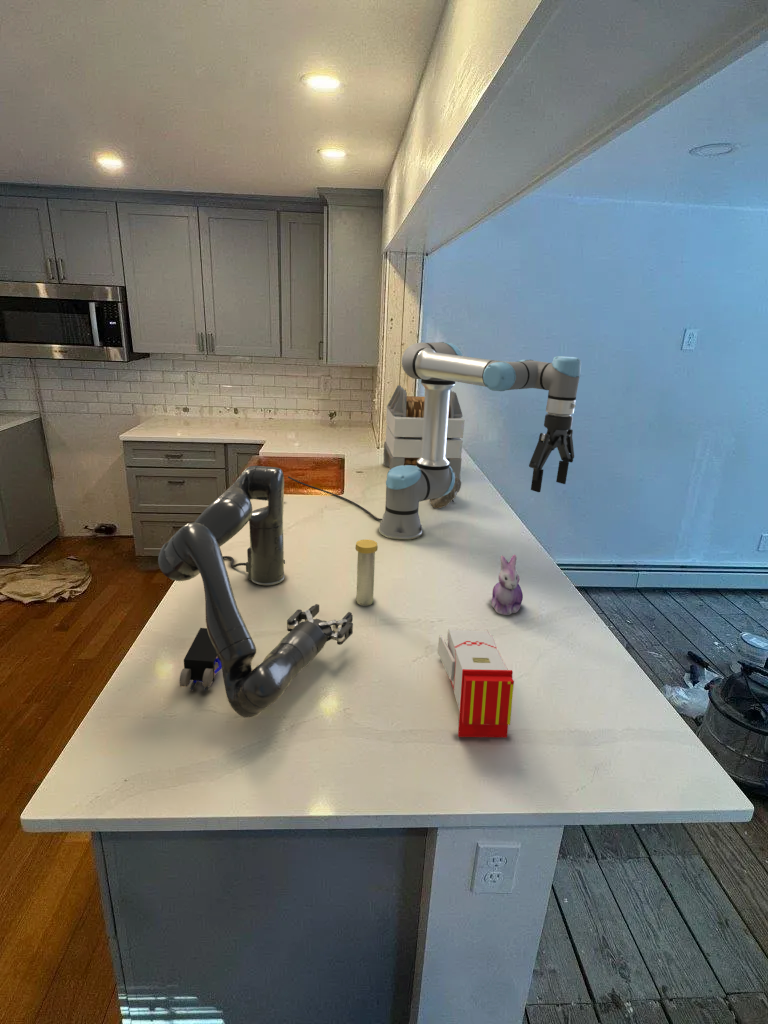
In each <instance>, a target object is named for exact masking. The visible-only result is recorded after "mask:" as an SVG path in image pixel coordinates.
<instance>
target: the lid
mask: <svg viewBox="0 0 768 1024" xmlns="http://www.w3.org/2000/svg"><path fill="white" fill-rule="evenodd" d="M378 548H379V547H378V542H377V541H375V540H373V539H359V540H357V541H356V543H355V550H356V552H357V553H358V552H360V553H365V554H369V553H374V552H375V553H376V552H377V551H378Z"/></svg>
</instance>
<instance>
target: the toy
mask: <svg viewBox="0 0 768 1024" xmlns="http://www.w3.org/2000/svg"><path fill="white" fill-rule="evenodd" d="M446 640H447V643H446V641H445V639H444V636H443V635H442V634H439V637H438V646H437V656H438V657H439V659H440V661H441V663H442V666H443V668H444V670H445V672H446V674H447V677H448V679H449V681H450V684H451V687H452V690H453V693H454V697H455V701H456V705H457V708H458V711H459V714H458V715H459V716H458V730H457V731H458V732H457V737H458V738H508V731H509V726H510V725H511V717H512V707H513V697H514V696H513V695H514V684H515V680H514V679H513V673H514V671H513V670H512V669H508V667H507V665H506V662H505V661H504V659H503V658H502V655H501V653H500V651H499V649H498V647H497V643H496V639H495V637H494V635H493V634H491V632H490V631H489V629H467V628H466V629H465V628H463V629H461V628H460V629H459V628H448V630H447V639H446Z"/></svg>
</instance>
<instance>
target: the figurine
mask: <svg viewBox="0 0 768 1024" xmlns="http://www.w3.org/2000/svg"><path fill="white" fill-rule="evenodd" d="M517 557H518V556H517V554H513V555H512V556H511V558H510V560H509V561H507V559H506V557H505V556H504V555H501V556H500V558H499V559H500V572H499V574H498V582H497V583H496V584H495V585H494V586H493V588H492V594H491V595H492V597H491V607H492V608H493V609H494V610H495V612H496V613H498V614H499V615H505V616H510V615H512V614H515V613H517V612H519V610H520V609H521V605H522V602H523V599H524V598H523V597H524V593H523V591H522V587H521V585H520V584H519V583H520V575H519V573H518V570H517V567H516V565H517V559H518V558H517Z"/></svg>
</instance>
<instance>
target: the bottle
mask: <svg viewBox="0 0 768 1024" xmlns="http://www.w3.org/2000/svg"><path fill="white" fill-rule="evenodd" d="M375 562H376V552H374V553H369V554H365V553H360V552H358V551H357V562H356V563H357V565H356V566H357V567H356V600H355V601H356V603H357V605H360V606H363V607H367V606H370V605H372V604H373V603H374V590H375V589H374V587H375V586H374V585H375V568H376V567H375V564H376V563H375Z"/></svg>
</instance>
